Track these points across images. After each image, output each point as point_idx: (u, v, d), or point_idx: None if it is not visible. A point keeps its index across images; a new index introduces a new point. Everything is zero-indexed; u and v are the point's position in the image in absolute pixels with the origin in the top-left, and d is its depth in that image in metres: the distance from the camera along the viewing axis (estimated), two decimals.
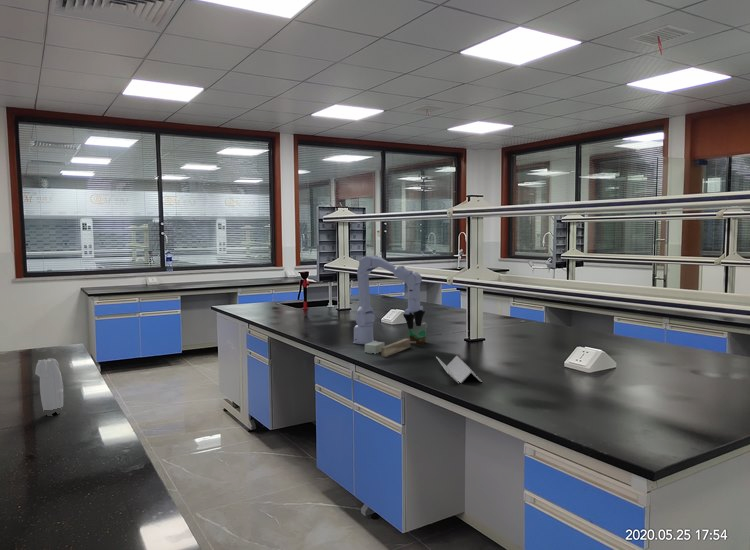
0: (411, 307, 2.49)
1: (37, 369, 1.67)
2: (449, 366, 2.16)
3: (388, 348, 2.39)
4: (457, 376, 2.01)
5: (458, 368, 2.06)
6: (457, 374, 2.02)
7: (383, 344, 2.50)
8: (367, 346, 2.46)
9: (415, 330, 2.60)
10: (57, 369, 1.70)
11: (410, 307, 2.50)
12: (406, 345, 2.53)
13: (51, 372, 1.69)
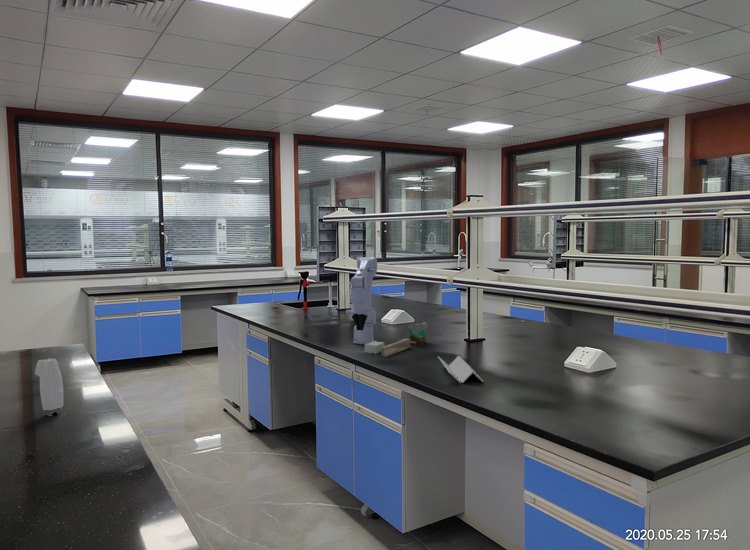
0: None
1: (37, 369, 1.67)
2: (451, 366, 2.16)
3: (388, 348, 2.39)
4: (458, 376, 2.01)
5: (460, 368, 2.06)
6: (459, 374, 2.02)
7: (383, 344, 2.50)
8: (367, 346, 2.46)
9: (415, 330, 2.60)
10: (57, 369, 1.70)
11: None
12: (406, 345, 2.53)
13: (51, 372, 1.69)
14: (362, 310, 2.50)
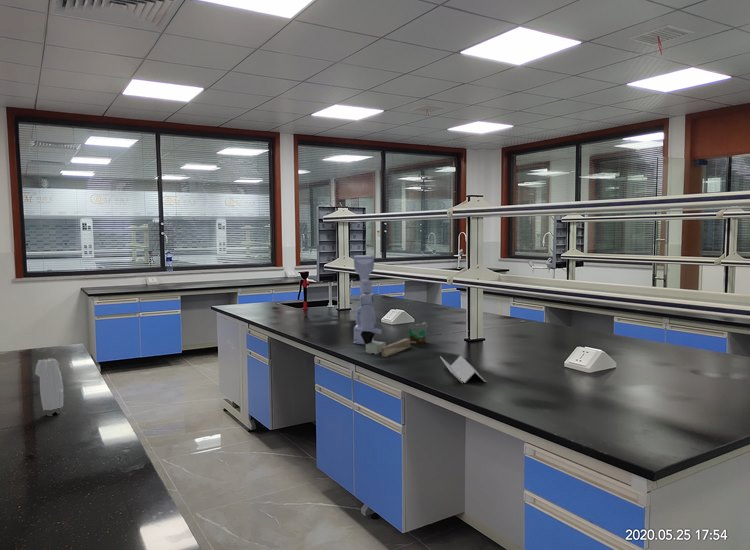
0: None
1: (37, 369, 1.67)
2: (453, 366, 2.16)
3: (388, 348, 2.39)
4: (460, 376, 2.01)
5: (462, 368, 2.06)
6: (461, 374, 2.02)
7: (384, 343, 2.49)
8: (368, 346, 2.46)
9: (415, 330, 2.60)
10: (57, 369, 1.70)
11: None
12: (406, 345, 2.53)
13: (51, 372, 1.69)
14: (370, 328, 2.48)
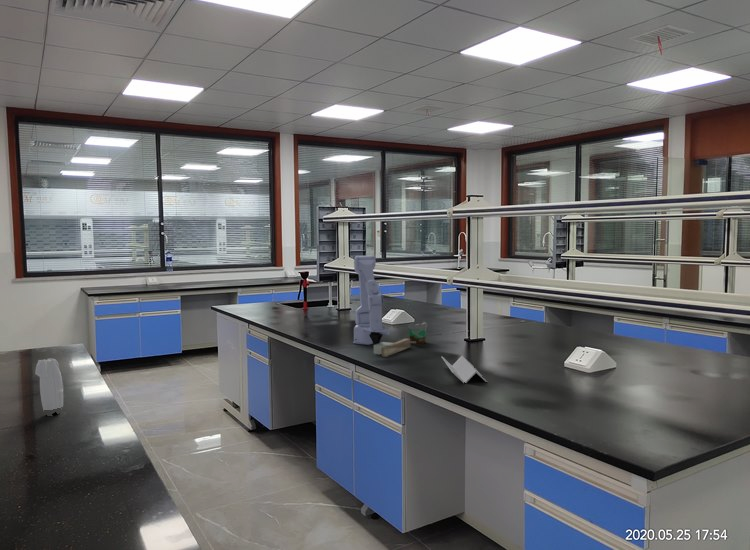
0: None
1: (37, 369, 1.67)
2: (454, 366, 2.16)
3: (388, 348, 2.39)
4: (462, 376, 2.01)
5: (463, 368, 2.06)
6: (462, 374, 2.02)
7: None
8: (376, 347, 2.44)
9: (415, 330, 2.60)
10: (57, 369, 1.70)
11: None
12: (406, 345, 2.53)
13: (51, 372, 1.69)
14: (379, 328, 2.45)
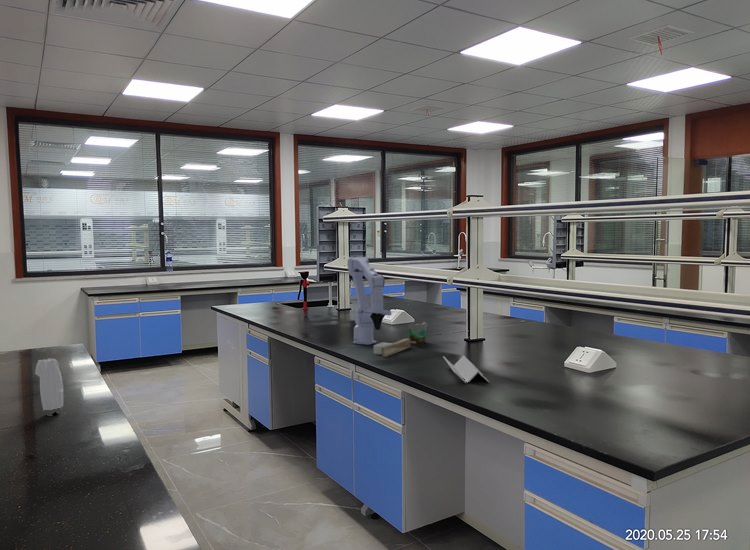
0: None
1: (37, 369, 1.67)
2: (456, 366, 2.16)
3: (388, 348, 2.39)
4: (463, 376, 2.01)
5: (465, 368, 2.06)
6: (464, 374, 2.02)
7: None
8: (376, 347, 2.44)
9: (415, 330, 2.60)
10: (57, 369, 1.70)
11: None
12: (406, 345, 2.53)
13: (51, 372, 1.69)
14: (380, 309, 2.50)
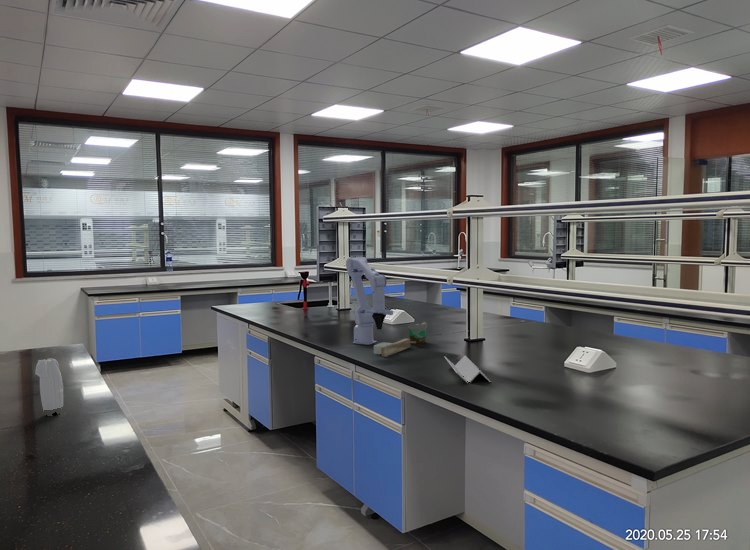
0: None
1: (37, 369, 1.67)
2: (457, 366, 2.16)
3: (388, 348, 2.39)
4: (465, 376, 2.01)
5: (466, 368, 2.06)
6: (465, 374, 2.02)
7: None
8: (376, 347, 2.44)
9: (415, 330, 2.60)
10: (57, 369, 1.70)
11: None
12: (406, 345, 2.53)
13: (51, 372, 1.69)
14: (381, 309, 2.51)
